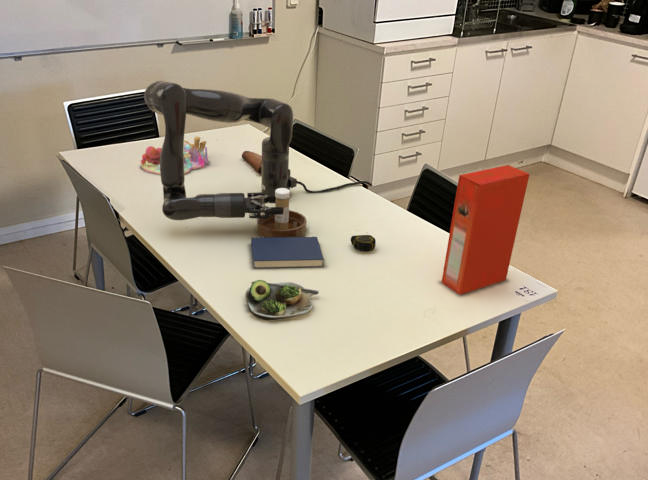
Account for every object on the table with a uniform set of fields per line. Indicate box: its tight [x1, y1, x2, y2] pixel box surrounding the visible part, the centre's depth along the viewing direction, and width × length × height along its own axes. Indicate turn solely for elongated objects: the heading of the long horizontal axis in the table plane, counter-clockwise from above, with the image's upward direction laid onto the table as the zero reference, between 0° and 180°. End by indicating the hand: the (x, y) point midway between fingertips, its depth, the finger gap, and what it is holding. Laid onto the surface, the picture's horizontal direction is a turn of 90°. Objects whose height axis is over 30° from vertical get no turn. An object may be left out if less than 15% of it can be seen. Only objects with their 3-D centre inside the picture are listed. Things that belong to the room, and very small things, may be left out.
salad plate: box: [245, 279, 320, 321], centre depth 174 cm, size 19×18×5 cm
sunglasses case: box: [241, 150, 262, 176], centre depth 256 cm, size 18×7×7 cm
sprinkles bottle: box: [274, 188, 291, 230], centre depth 207 cm, size 5×5×13 cm
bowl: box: [256, 209, 308, 238], centre depth 209 cm, size 15×15×4 cm
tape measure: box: [350, 234, 377, 253], centre depth 201 cm, size 7×7×4 cm
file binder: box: [441, 164, 530, 295], centre depth 180 cm, size 8×17×32 cm, turn 121°
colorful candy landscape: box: [140, 136, 209, 175], centre depth 254 cm, size 25×24×9 cm
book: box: [250, 236, 324, 269], centre depth 196 cm, size 14×20×3 cm
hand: (281, 204), depth 206 cm, fingers open, 8 cm apart
